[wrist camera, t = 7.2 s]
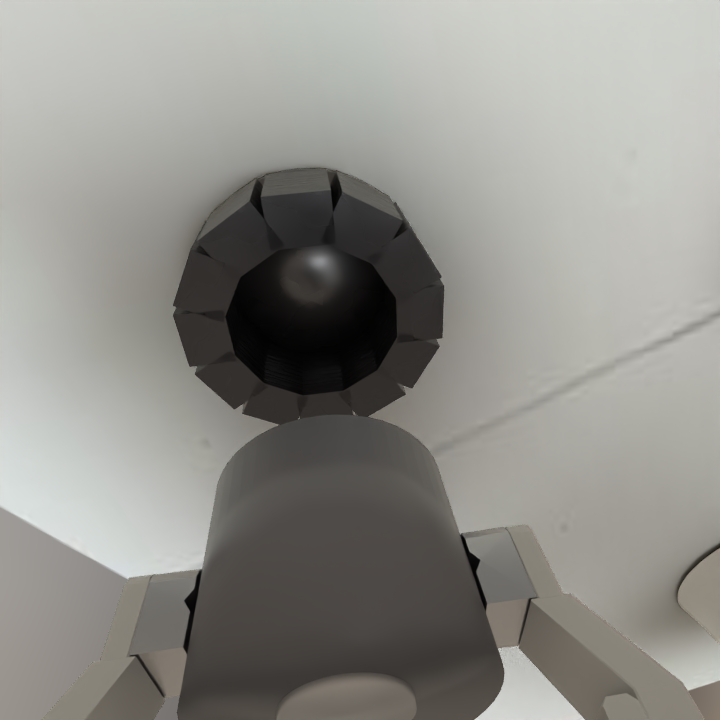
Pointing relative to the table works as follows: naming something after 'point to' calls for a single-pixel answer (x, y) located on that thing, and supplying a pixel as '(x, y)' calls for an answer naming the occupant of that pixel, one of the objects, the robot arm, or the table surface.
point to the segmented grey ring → (309, 298)
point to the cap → (337, 585)
